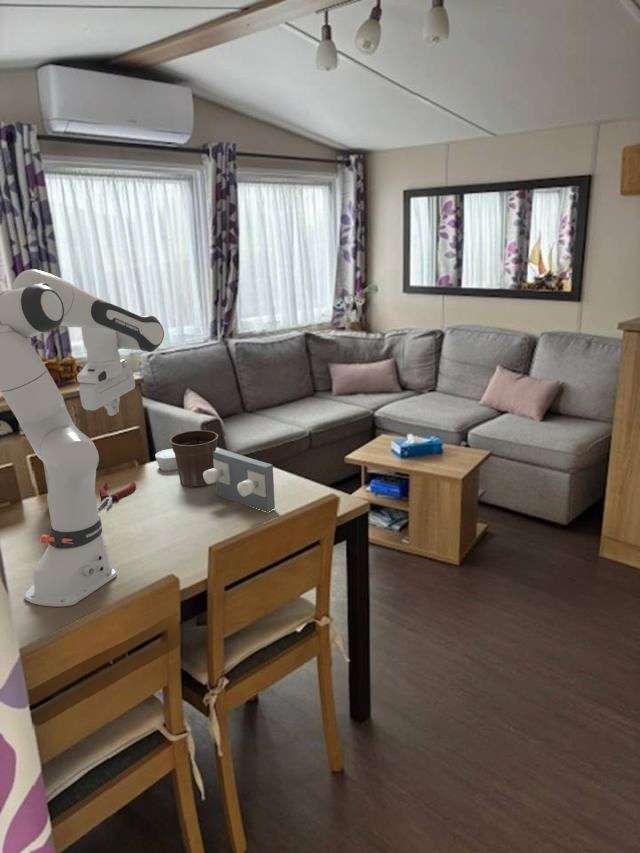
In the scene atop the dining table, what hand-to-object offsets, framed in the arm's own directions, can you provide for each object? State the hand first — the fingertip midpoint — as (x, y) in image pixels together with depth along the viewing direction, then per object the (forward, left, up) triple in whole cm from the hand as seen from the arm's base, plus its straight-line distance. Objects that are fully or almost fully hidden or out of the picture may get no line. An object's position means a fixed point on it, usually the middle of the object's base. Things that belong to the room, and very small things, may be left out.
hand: (113, 413), depth 182 cm
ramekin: (+45, +8, -34) cm, 57 cm away
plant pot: (+33, -8, -34) cm, 48 cm away
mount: (+19, -31, -33) cm, 49 cm away
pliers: (+14, +15, -34) cm, 40 cm away
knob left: (+18, -21, -26) cm, 39 cm away
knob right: (+11, -36, -26) cm, 46 cm away
